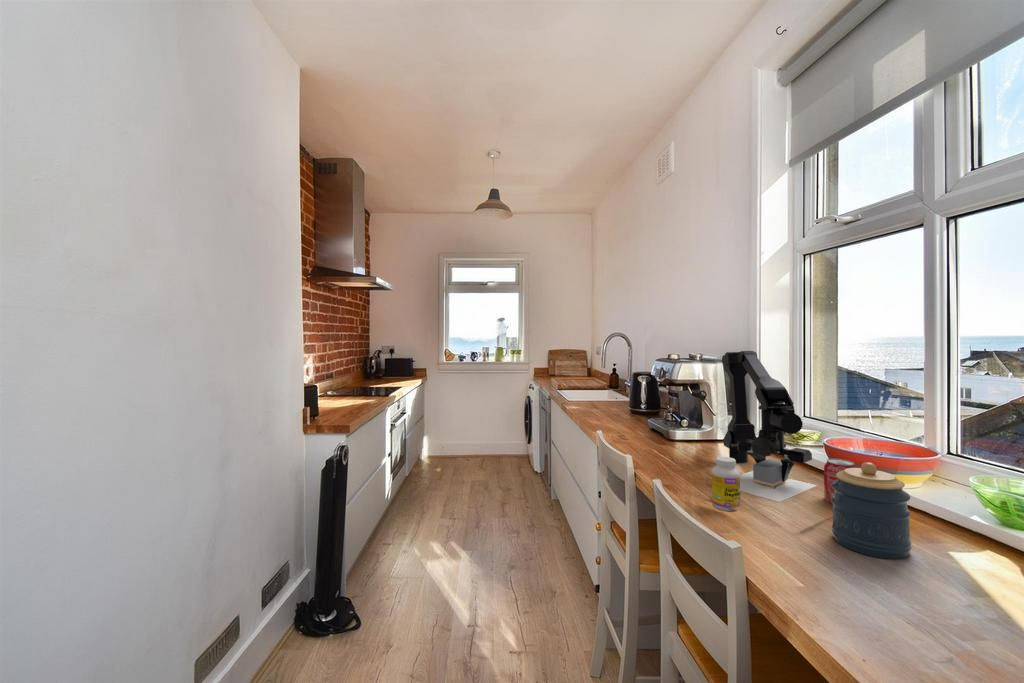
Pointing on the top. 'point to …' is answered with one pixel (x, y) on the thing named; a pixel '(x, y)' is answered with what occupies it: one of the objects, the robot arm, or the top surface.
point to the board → (773, 488)
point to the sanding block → (768, 472)
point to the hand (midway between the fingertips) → (773, 478)
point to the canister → (871, 512)
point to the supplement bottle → (725, 484)
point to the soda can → (833, 475)
